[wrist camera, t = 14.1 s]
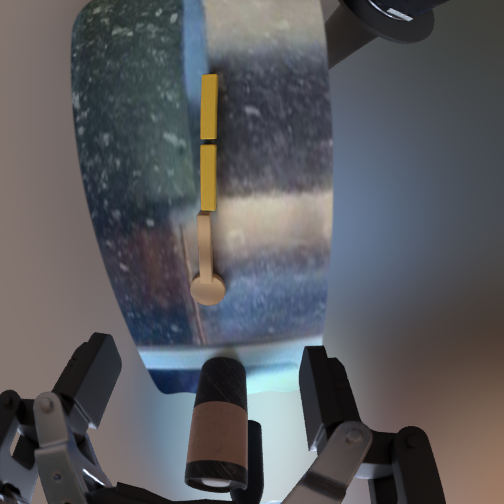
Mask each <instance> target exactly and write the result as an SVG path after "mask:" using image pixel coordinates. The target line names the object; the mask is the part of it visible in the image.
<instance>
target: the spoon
mask: <svg viewBox="0 0 504 504" xmlns="http://www.w3.org/2000/svg"><path fill="white" fill-rule="evenodd" d="M197 228H198V249H199V267H200V273H199V274H198V275H196V276H195V277H194V278H193V280H192V283H191V286H190V292H191V295H192V297H193V298H194V299H195V300H196V301H197V302H199V303H201V304H203V305H215V304H217V303H219V302H220V301H222V299H223V298H224V296H225V291H226V285H225V282H224V281H223V279H222V278H221V277H220V276H219V275H217V274H215V273H213V252H212V212H199V213H198V215H197Z"/></svg>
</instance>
